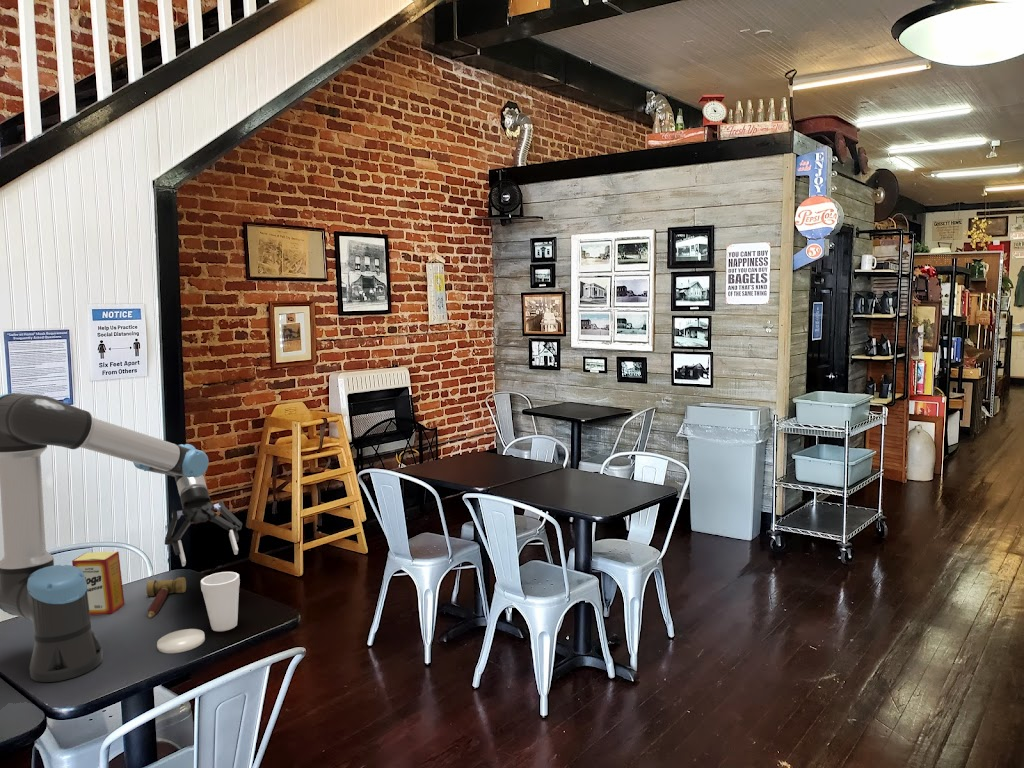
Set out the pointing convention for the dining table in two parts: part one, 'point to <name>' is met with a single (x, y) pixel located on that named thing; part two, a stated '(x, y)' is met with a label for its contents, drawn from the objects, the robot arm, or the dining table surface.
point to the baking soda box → (102, 581)
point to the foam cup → (221, 599)
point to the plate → (180, 641)
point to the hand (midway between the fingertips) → (210, 558)
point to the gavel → (163, 592)
